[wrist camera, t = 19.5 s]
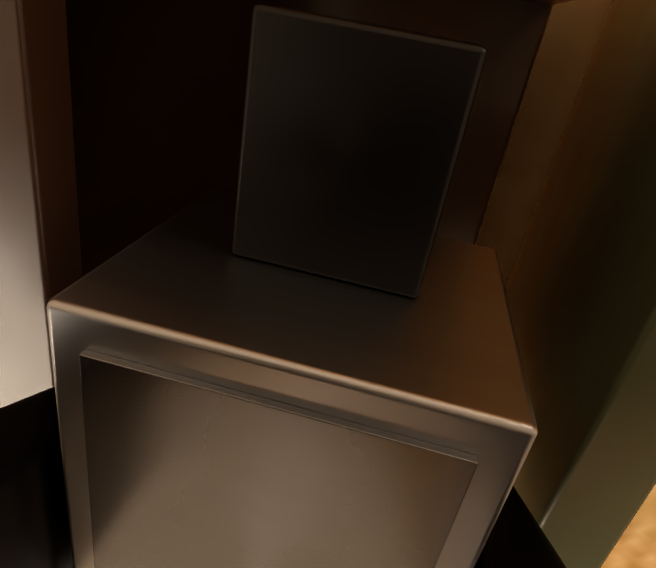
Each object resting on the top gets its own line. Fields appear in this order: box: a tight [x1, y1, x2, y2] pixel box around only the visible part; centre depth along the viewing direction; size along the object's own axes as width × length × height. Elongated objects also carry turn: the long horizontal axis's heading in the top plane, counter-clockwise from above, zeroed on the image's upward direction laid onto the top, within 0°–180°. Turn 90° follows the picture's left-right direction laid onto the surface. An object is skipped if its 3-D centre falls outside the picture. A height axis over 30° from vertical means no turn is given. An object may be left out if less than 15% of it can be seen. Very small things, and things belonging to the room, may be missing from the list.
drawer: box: [65, 0, 656, 568], centre depth 11 cm, size 20×13×7 cm
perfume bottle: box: [47, 4, 538, 568], centre depth 7 cm, size 9×4×4 cm, turn 171°
